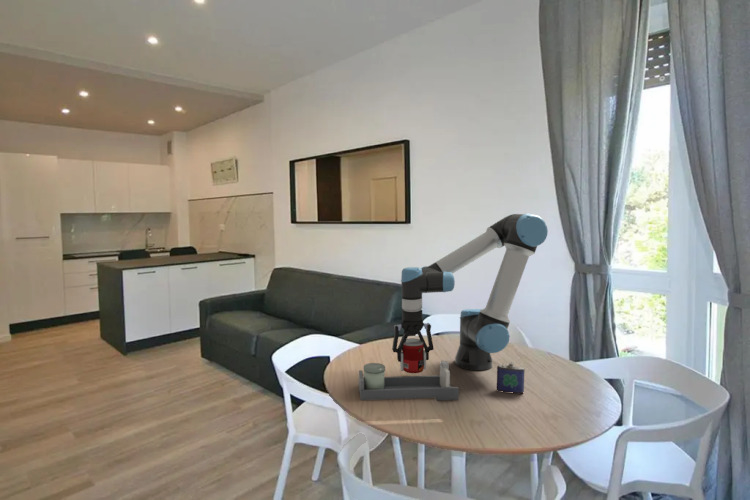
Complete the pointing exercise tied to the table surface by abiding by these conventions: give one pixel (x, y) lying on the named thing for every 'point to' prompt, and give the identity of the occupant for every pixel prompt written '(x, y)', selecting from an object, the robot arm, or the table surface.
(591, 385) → the table surface
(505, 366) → the flask
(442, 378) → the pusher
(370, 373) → the green jar
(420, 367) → the canned food
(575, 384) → the table surface
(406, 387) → the lane
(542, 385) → the table surface
